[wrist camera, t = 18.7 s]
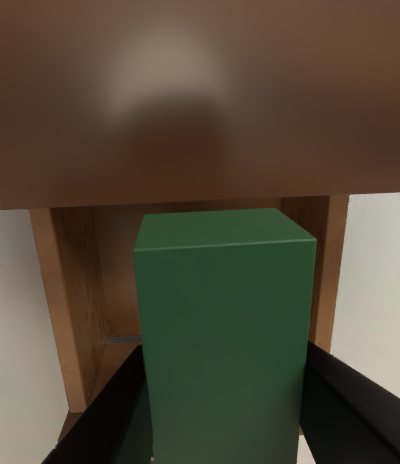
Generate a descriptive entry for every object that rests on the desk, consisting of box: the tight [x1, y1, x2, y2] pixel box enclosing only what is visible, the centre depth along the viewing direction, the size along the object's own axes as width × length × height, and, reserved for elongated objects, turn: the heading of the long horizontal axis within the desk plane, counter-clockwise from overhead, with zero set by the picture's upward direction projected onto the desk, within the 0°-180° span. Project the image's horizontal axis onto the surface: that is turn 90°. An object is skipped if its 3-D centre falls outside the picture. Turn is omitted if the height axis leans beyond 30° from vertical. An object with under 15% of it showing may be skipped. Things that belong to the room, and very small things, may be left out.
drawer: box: [29, 195, 349, 464], centre depth 17 cm, size 21×13×7 cm, turn 2°
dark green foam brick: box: [132, 208, 317, 464], centre depth 8 cm, size 8×4×3 cm, turn 2°
